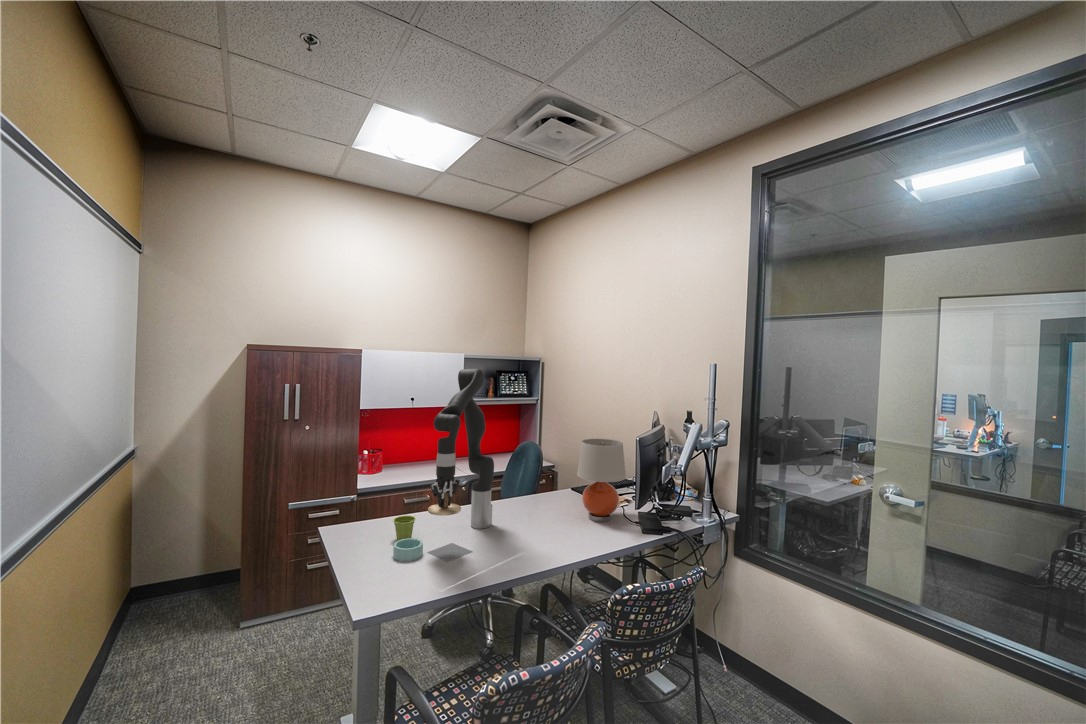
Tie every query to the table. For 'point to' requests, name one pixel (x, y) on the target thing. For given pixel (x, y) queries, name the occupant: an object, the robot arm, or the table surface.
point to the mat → (449, 552)
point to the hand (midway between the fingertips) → (444, 506)
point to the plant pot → (404, 526)
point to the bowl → (408, 549)
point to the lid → (446, 510)
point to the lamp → (601, 476)
